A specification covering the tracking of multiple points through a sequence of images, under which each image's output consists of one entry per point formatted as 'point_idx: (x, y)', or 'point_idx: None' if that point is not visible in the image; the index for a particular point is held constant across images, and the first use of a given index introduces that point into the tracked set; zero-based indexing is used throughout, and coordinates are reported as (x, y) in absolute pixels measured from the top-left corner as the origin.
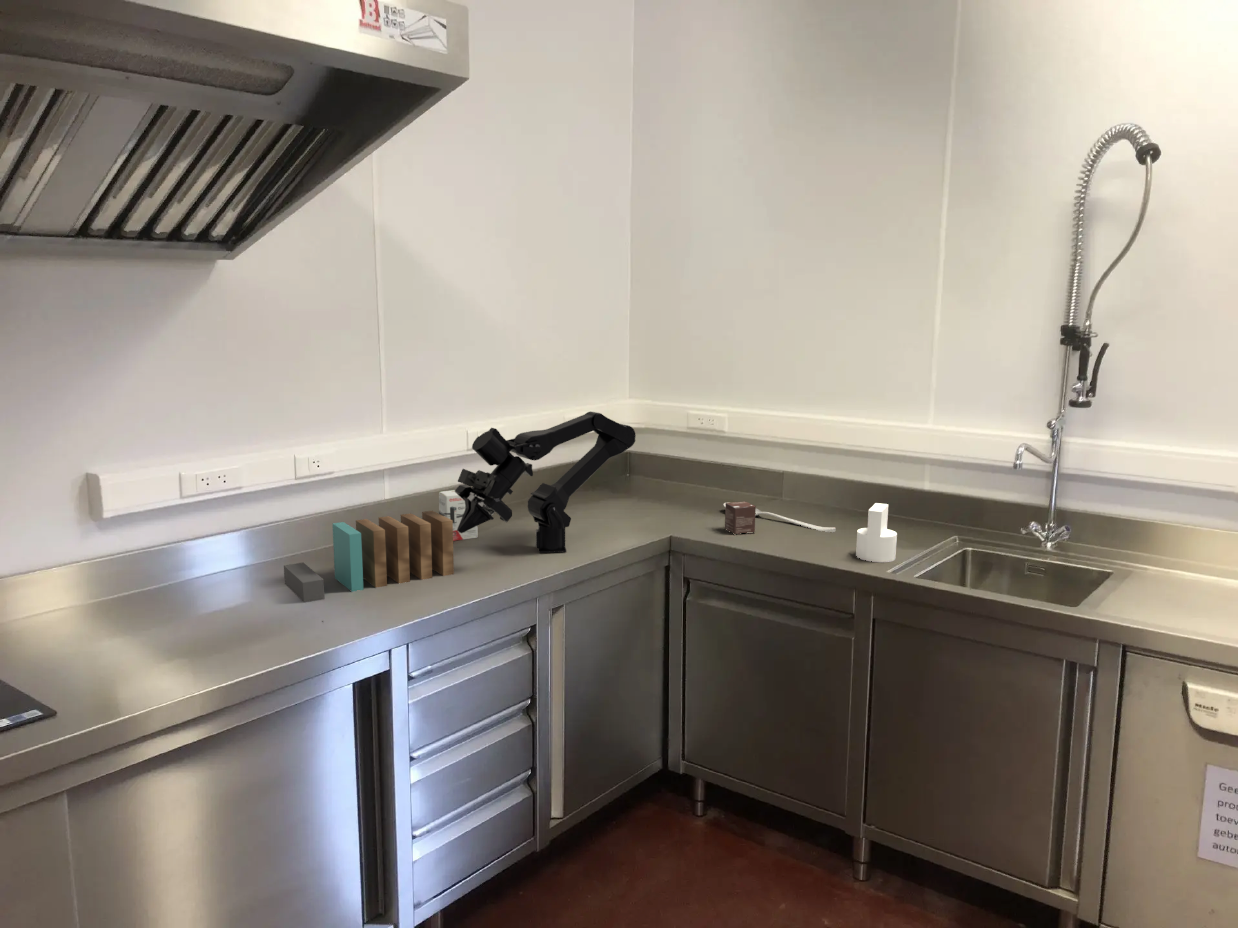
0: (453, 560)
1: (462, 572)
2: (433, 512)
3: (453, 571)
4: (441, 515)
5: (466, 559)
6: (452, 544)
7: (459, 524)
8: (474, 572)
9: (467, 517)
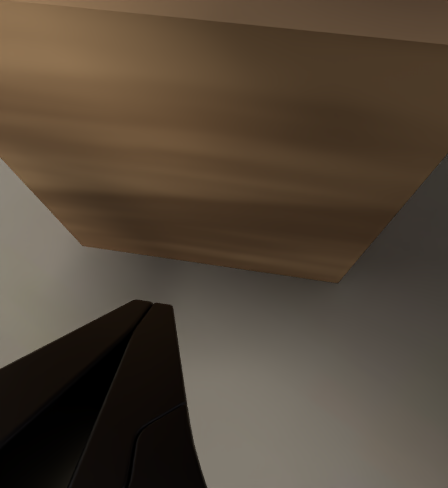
0: (54, 215)
1: (70, 292)
2: (399, 16)
3: (78, 239)
4: (166, 9)
5: (264, 465)
6: (6, 157)
7: (169, 332)
8: (20, 339)
9: (6, 380)
